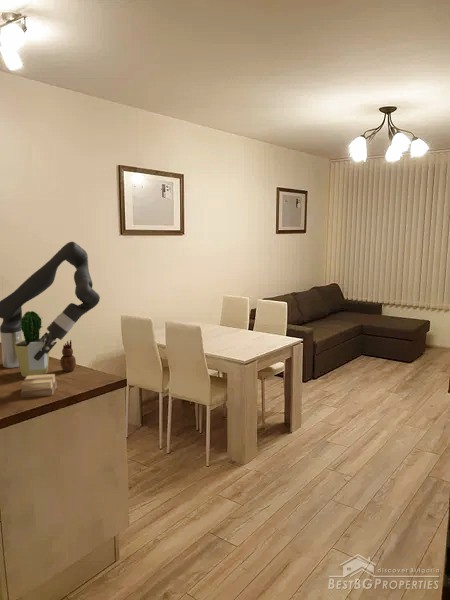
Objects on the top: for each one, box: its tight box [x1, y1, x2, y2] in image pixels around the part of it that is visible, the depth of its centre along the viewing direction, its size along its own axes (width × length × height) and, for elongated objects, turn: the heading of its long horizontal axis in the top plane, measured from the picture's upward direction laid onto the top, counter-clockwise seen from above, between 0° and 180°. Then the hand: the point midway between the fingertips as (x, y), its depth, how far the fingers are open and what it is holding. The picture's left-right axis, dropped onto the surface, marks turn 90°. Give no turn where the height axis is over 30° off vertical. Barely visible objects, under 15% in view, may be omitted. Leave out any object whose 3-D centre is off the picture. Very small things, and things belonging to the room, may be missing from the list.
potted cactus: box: [14, 310, 50, 378], centre depth 209 cm, size 15×15×30 cm
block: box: [27, 342, 49, 370], centre depth 186 cm, size 6×6×10 cm
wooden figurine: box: [59, 339, 77, 373], centre depth 214 cm, size 7×6×15 cm
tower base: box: [20, 379, 58, 398], centre depth 188 cm, size 12×12×3 cm
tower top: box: [21, 373, 56, 391], centre depth 187 cm, size 11×11×3 cm
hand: (33, 356), depth 185 cm, fingers closed on block, 8 cm apart
